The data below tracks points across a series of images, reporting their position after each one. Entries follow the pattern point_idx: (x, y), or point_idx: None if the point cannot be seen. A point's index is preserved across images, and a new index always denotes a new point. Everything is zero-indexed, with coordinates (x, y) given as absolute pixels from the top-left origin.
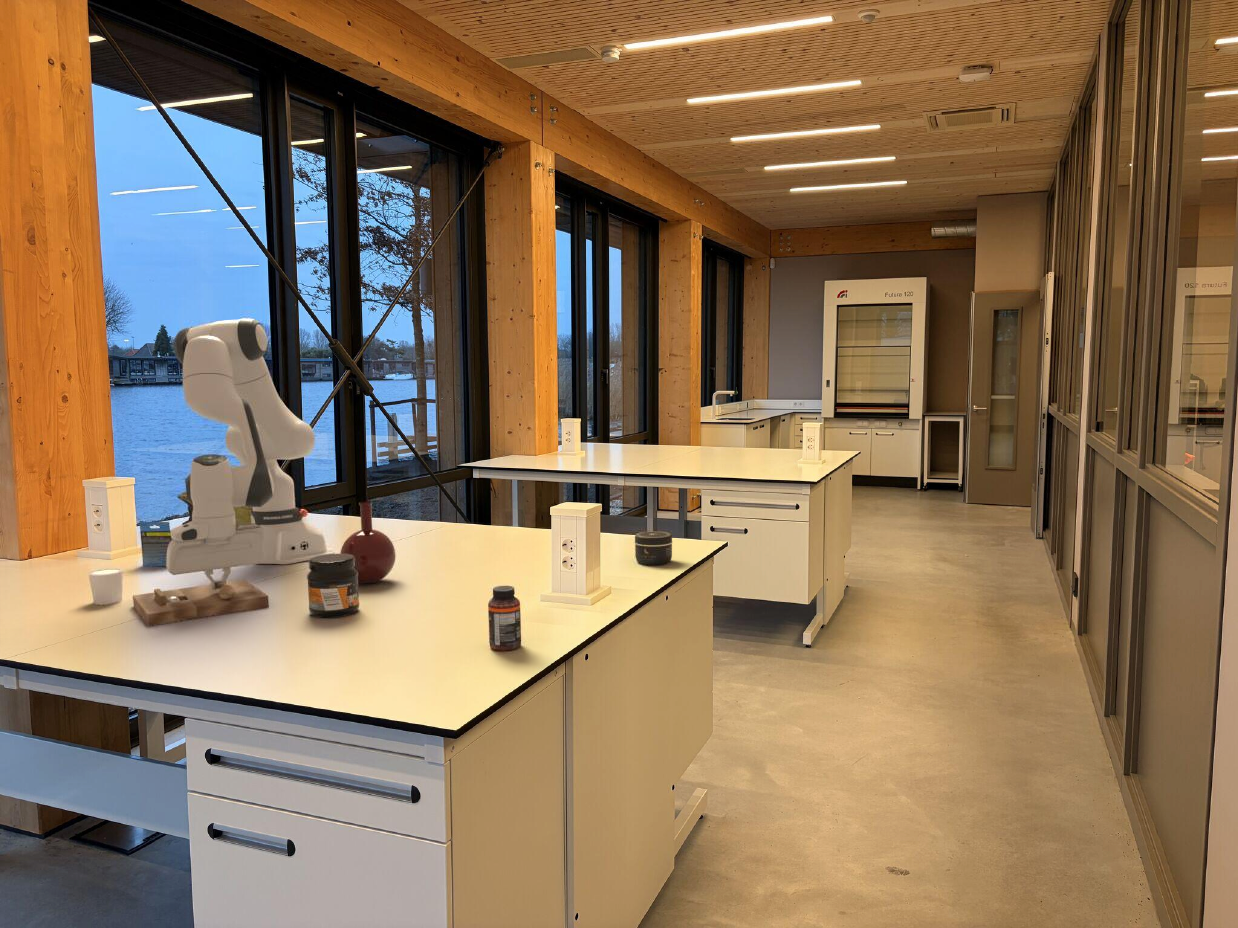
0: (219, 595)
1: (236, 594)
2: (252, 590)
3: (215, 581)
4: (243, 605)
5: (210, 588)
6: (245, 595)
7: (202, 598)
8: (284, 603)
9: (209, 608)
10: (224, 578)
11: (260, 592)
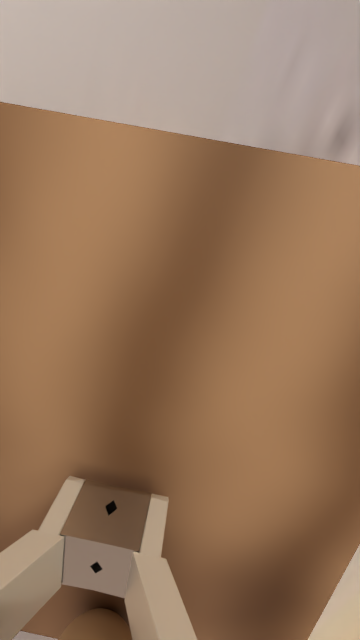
0: (59, 637)
1: (183, 577)
2: (296, 571)
3: (65, 580)
4: None
5: (125, 314)
6: (207, 620)
7: (7, 519)
8: (343, 621)
9: None
10: (134, 623)
11: (295, 629)
